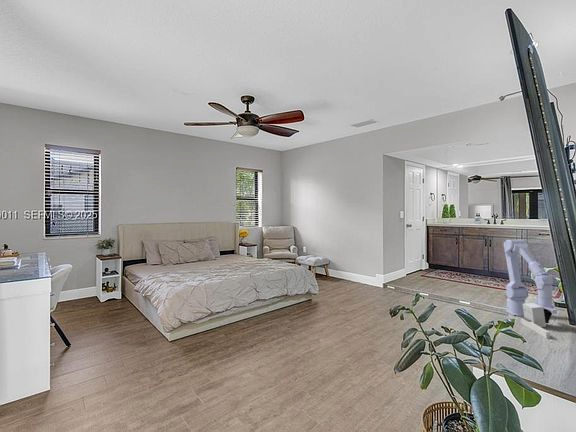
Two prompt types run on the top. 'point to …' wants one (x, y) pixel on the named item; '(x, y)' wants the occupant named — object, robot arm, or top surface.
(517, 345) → the top surface
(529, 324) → the light grey long bar
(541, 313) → the small box
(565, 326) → the top surface
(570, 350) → the top surface
